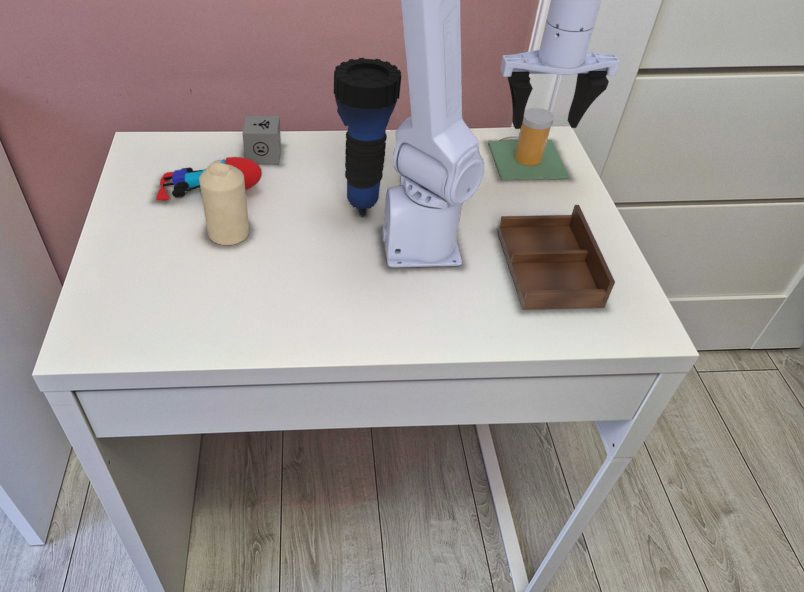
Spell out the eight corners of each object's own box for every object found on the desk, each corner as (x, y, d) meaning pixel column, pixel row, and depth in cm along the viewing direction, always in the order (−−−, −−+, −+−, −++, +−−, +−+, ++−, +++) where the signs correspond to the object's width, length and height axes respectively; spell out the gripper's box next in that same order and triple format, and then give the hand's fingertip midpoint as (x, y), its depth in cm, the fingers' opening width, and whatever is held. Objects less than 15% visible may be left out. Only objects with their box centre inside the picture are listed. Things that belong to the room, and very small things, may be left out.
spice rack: (522, 309, 83) (530, 284, 80) (497, 231, 93) (503, 205, 90) (604, 307, 83) (615, 281, 80) (570, 230, 94) (579, 204, 90)
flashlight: (369, 188, 99) (377, 50, 85) (401, 218, 95) (415, 77, 80) (321, 205, 97) (321, 65, 82) (352, 236, 92) (357, 94, 77)
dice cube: (278, 164, 103) (277, 133, 100) (245, 163, 103) (242, 133, 100) (281, 146, 107) (279, 116, 103) (248, 145, 107) (245, 115, 103)
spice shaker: (522, 168, 103) (533, 125, 97) (507, 153, 105) (517, 110, 100) (548, 163, 104) (560, 120, 99) (532, 147, 106) (543, 105, 101)
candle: (256, 225, 93) (250, 160, 86) (239, 249, 90) (231, 184, 83) (219, 216, 95) (209, 151, 87) (200, 240, 91) (189, 175, 84)
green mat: (501, 179, 101) (501, 177, 101) (488, 143, 108) (488, 140, 108) (568, 178, 102) (569, 176, 101) (551, 142, 108) (551, 139, 108)
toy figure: (159, 213, 97) (263, 200, 95) (147, 182, 94) (254, 168, 92) (169, 186, 103) (268, 172, 101) (158, 156, 100) (260, 141, 98)
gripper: (618, 8, 87) (587, 109, 97) (504, 9, 86) (485, 110, 96) (637, 32, 82) (603, 135, 92) (517, 33, 81) (495, 137, 92)
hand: (544, 124), depth 94 cm, fingers open, 7 cm apart
